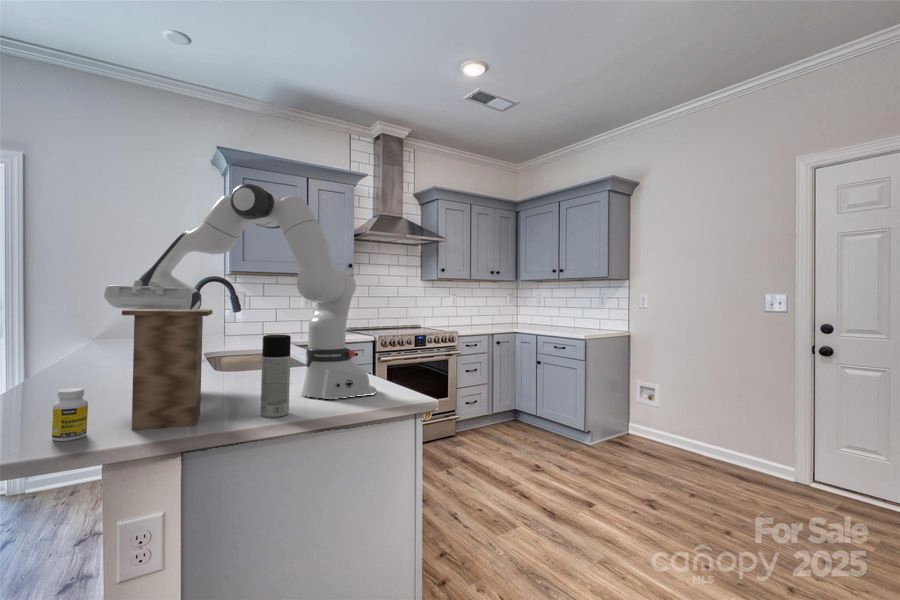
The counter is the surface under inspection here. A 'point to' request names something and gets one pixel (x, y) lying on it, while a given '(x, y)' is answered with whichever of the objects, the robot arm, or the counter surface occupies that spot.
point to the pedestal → (166, 367)
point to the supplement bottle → (70, 415)
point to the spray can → (275, 375)
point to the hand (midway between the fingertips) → (145, 282)
